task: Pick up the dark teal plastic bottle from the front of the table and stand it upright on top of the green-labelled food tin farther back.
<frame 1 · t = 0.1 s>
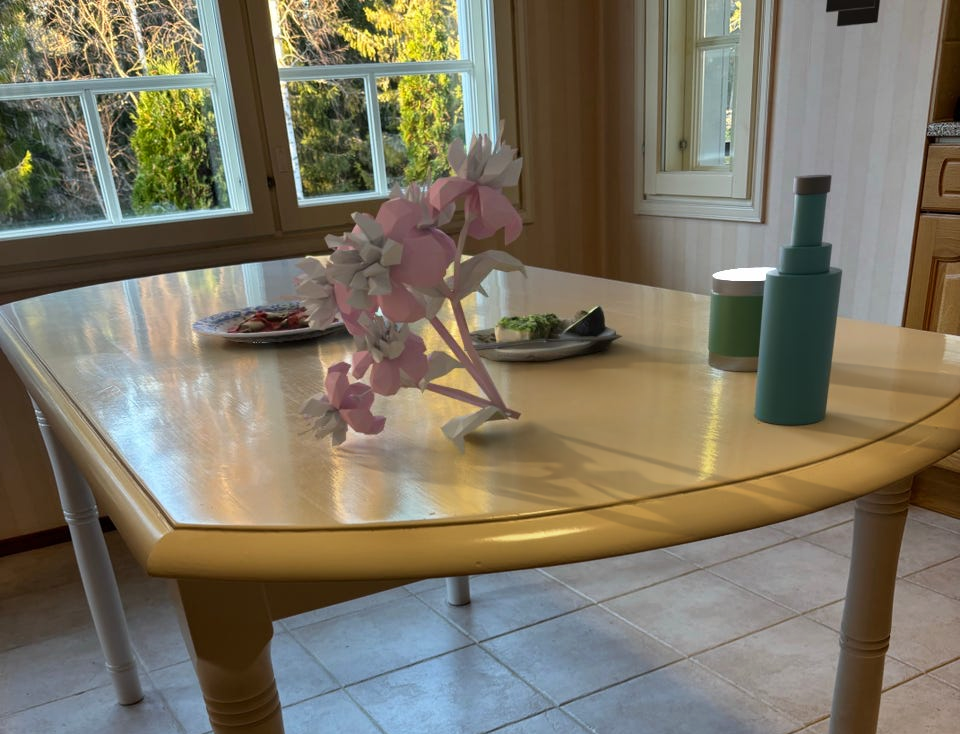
hand: (853, 18, 61), 29 cm above the table, tool pointing down, fingers open, 13 cm apart
tin: (748, 362, 100), on the table
flower: (400, 444, 83), on the table
bottle: (789, 415, 82), on the table
salad plate: (544, 349, 114), on the table
ceramic plate: (285, 333, 135), on the table
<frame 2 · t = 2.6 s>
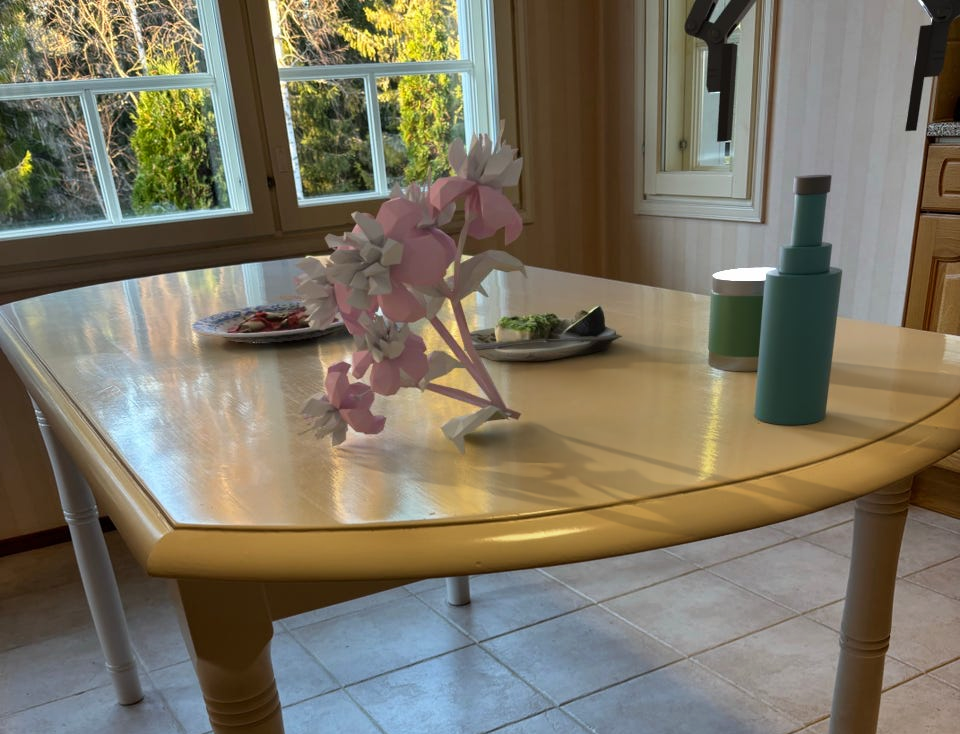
hand: (814, 136, 71), 22 cm above the table, tool pointing down, fingers open, 13 cm apart
nothing on the table moved.
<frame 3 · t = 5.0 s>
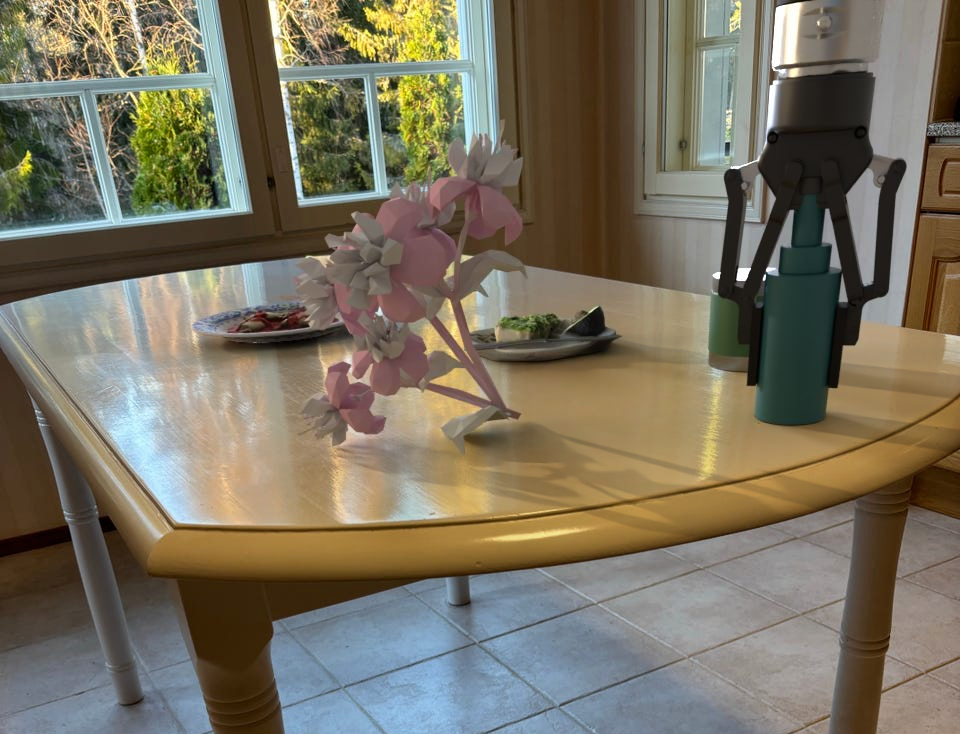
hand: (792, 382, 80), 3 cm above the table, tool pointing down, fingers closed on bottle, 6 cm apart
bottle: (789, 415, 82), on the table, touching gripper
everything else where it was.
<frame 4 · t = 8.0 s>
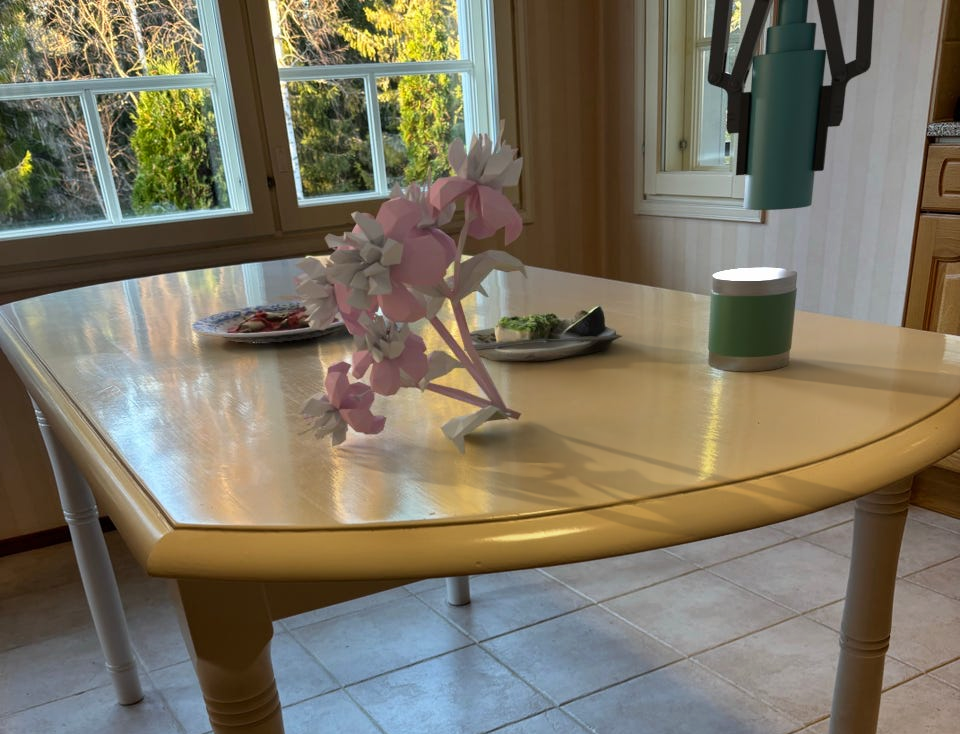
hand: (779, 171, 84), 19 cm above the table, tool pointing down, fingers closed on bottle, 6 cm apart
bottle: (777, 206, 85), point 16 cm above the table, touching gripper
everything else where it was.
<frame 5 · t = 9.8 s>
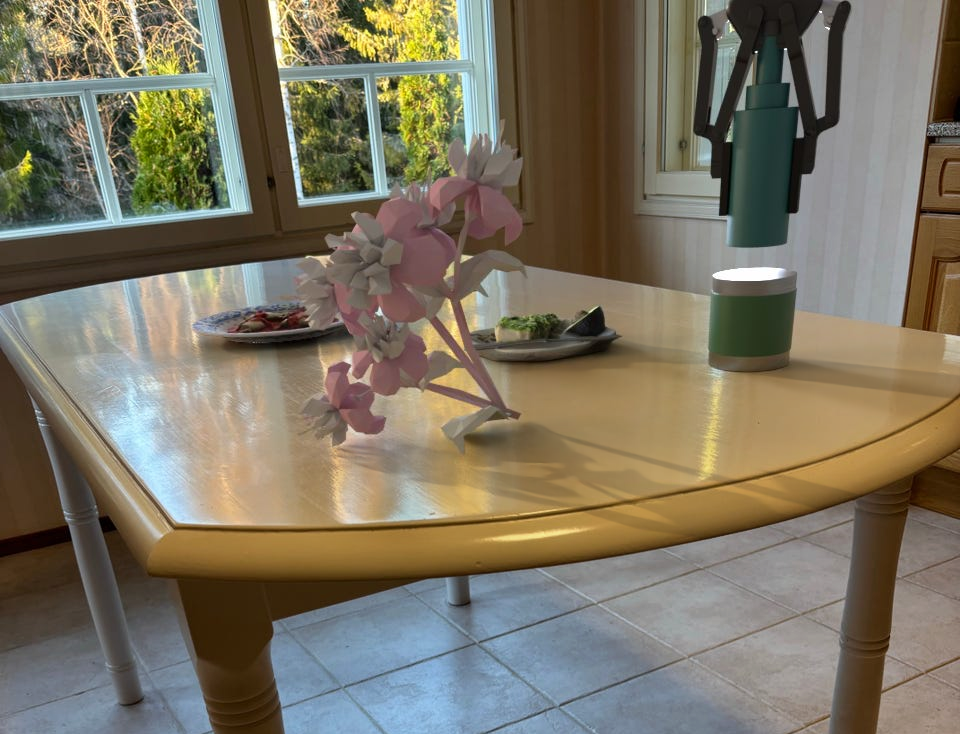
hand: (758, 213, 93), 15 cm above the table, tool pointing down, fingers closed on bottle, 6 cm apart
bottle: (756, 244, 94), point 12 cm above the table, touching gripper
everything else where it was.
when the fingers open (12 cm above the table, at t = 11.0 s): bottle stays where it is, resting on tin.
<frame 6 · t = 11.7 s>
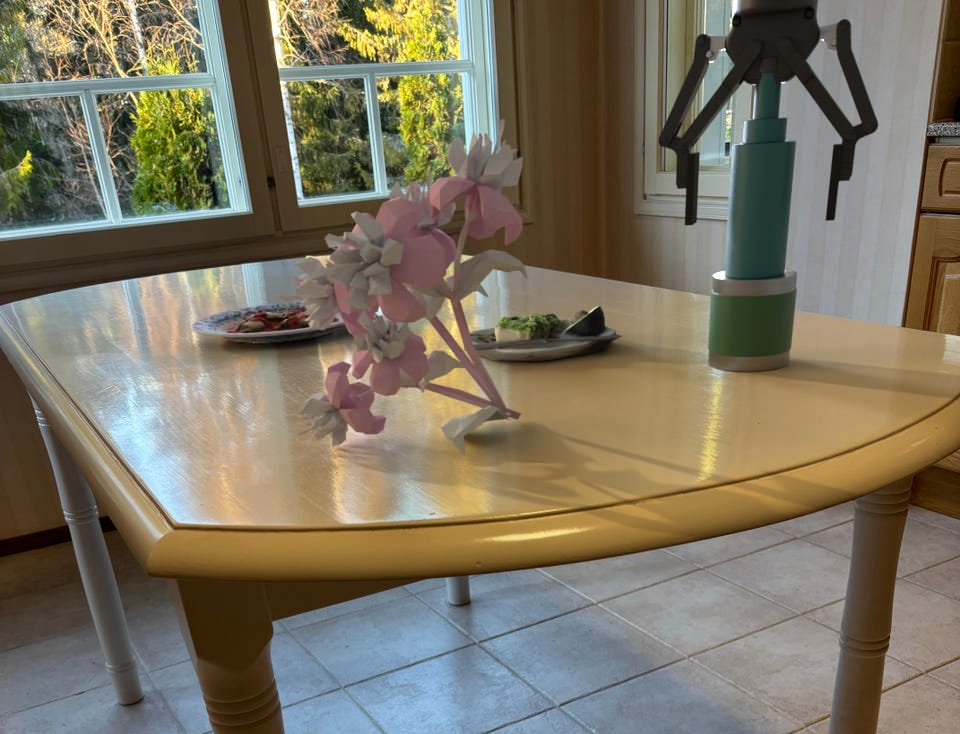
hand: (758, 222, 93), 14 cm above the table, tool pointing down, fingers open, 13 cm apart
tin: (748, 362, 100), on the table, touching bottle
bottle: (754, 274, 96), point 9 cm above the table, touching tin
everything else where it was.
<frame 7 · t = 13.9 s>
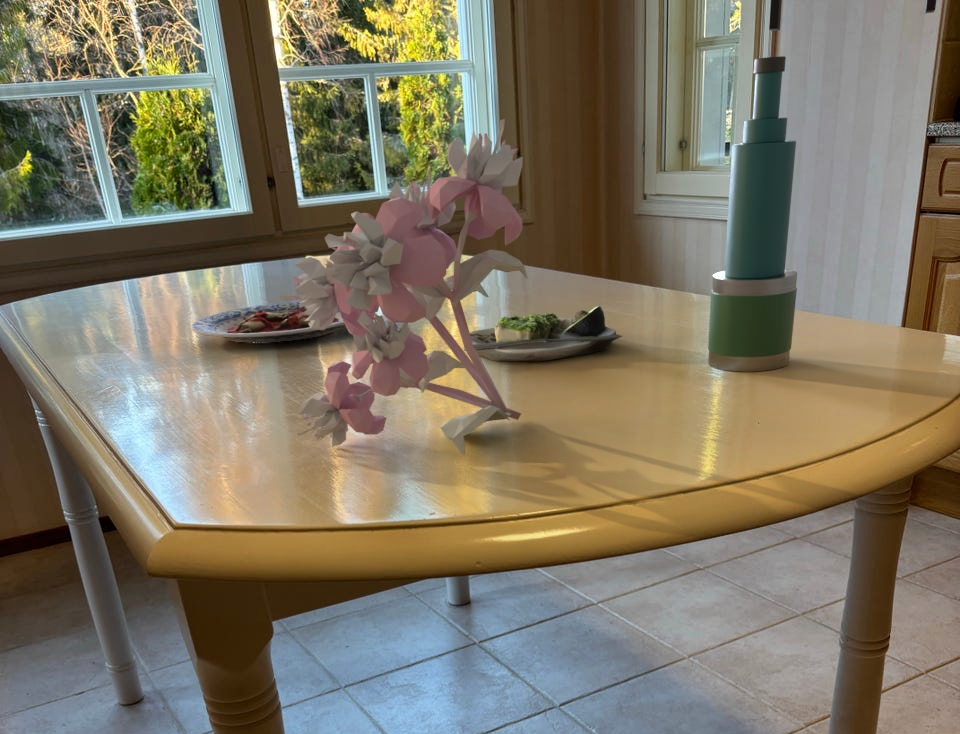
hand: (850, 21, 87), 30 cm above the table, tool pointing down, fingers open, 13 cm apart
nothing on the table moved.
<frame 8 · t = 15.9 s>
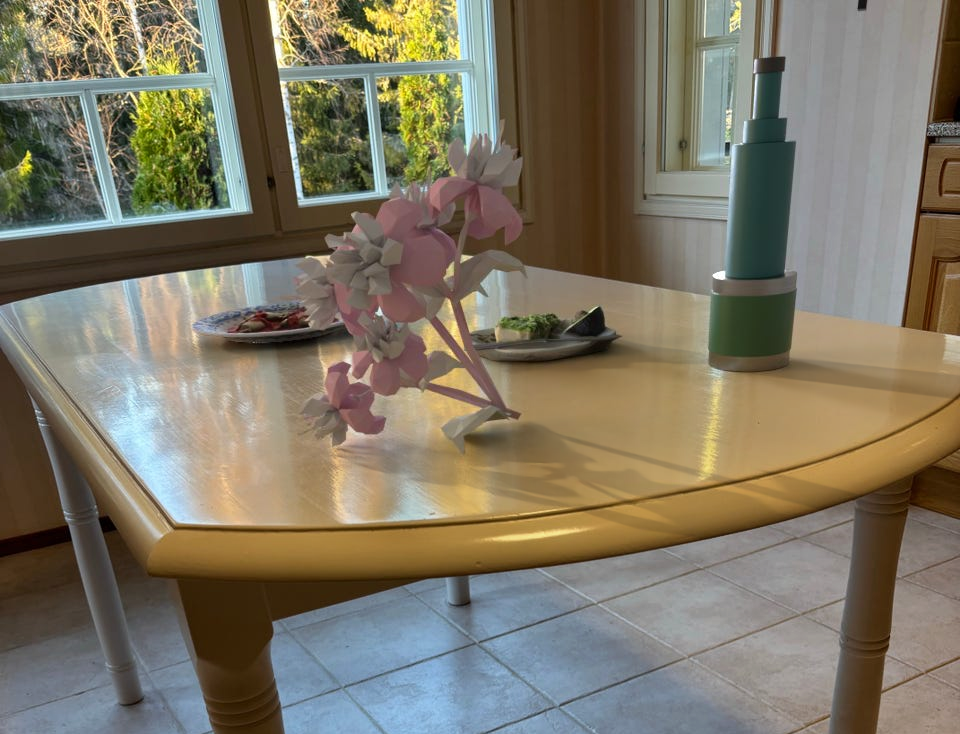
hand: (937, 2, 89), 32 cm above the table, tool pointing down, fingers open, 13 cm apart
nothing on the table moved.
at the end: bottle 0.0 cm off-centre on the tin, point 9.0 cm above the tin's base; bottle tilted 0°; tin tilted 0° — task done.
